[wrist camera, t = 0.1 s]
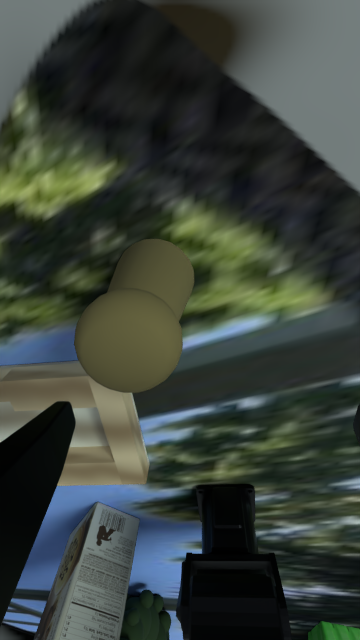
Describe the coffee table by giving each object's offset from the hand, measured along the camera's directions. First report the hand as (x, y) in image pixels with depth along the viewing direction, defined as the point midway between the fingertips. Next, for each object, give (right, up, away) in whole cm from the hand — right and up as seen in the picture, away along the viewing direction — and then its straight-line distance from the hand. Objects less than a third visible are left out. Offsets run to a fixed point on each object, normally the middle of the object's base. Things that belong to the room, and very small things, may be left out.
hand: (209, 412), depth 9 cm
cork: (-3, +6, +14) cm, 15 cm away
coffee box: (-11, -24, +30) cm, 40 cm away
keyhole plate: (-15, -7, +21) cm, 27 cm away
